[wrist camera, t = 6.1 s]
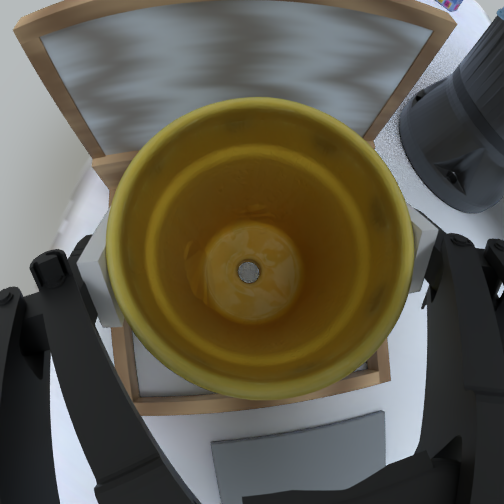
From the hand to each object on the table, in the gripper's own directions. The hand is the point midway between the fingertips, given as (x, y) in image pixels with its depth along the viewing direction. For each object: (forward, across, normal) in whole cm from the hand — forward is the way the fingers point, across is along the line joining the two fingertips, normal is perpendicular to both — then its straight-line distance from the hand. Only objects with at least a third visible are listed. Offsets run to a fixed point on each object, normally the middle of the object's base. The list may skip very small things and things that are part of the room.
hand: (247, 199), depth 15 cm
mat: (-9, +3, -22) cm, 24 cm away
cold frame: (+5, 0, -9) cm, 10 cm away
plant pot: (+1, 0, -6) cm, 6 cm away
